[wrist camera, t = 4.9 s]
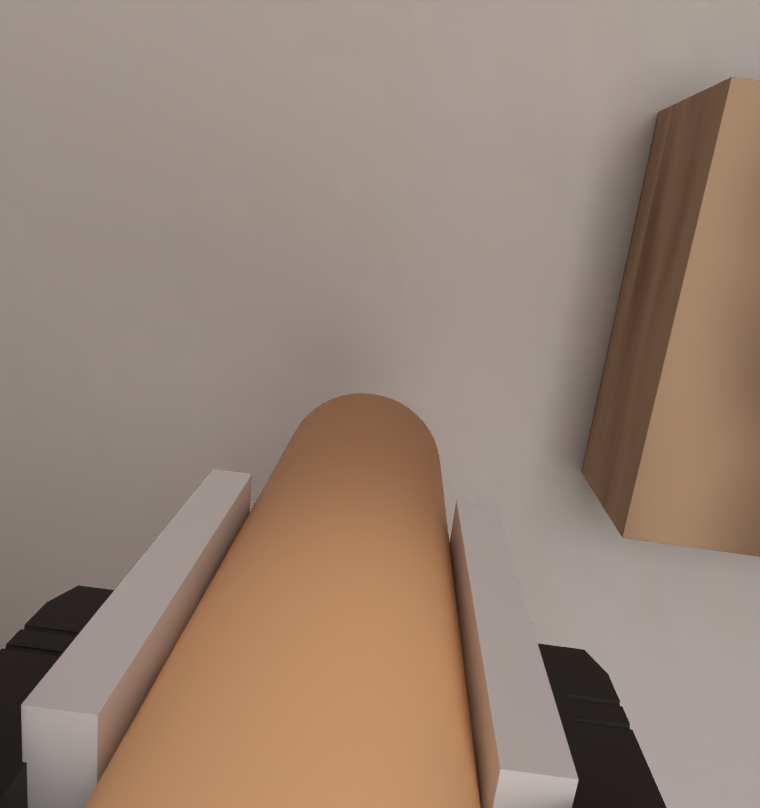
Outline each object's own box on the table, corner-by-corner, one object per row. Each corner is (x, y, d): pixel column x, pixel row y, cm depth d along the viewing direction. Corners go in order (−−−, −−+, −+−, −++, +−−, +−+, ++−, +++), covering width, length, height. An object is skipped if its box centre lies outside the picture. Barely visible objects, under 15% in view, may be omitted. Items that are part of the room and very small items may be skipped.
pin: (281, 527, 18) (-102, 1415, 5) (293, 383, 17) (-152, 988, 4) (428, 546, 18) (480, 1504, 5) (450, 404, 17) (600, 1094, 4)
